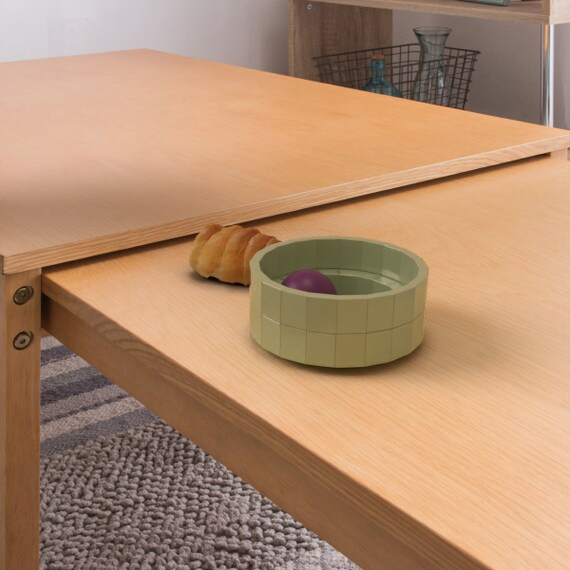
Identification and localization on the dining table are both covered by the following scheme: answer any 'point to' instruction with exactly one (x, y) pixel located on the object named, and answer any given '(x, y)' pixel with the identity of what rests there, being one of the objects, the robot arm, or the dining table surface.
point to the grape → (310, 282)
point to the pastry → (227, 251)
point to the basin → (339, 301)
